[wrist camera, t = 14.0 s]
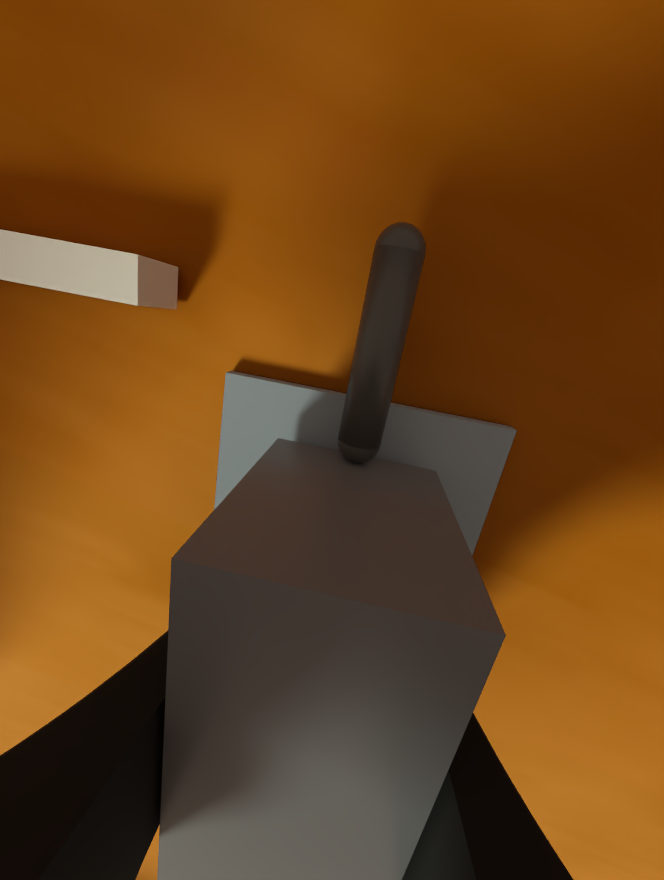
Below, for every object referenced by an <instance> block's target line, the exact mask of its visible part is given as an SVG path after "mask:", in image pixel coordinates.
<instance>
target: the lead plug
mask: <svg viewBox="0 0 664 880" xmlns="http://www.w3.org/2000/svg"><path fill="white" fill-rule="evenodd" d="M425 251H426V246H425V240H424V237H423V235H422V233H421V232H420V231H419V229H418V228H416V227H415V226H414V225H412V224H409V223H405V222H400V223H395V224H392V225H390V226H389V227H387V228H386V229H385V230H384V231H382V233H381V234H380V235H379V237H378V239H377V241H376V244H375V248H374V253H373V258H372V263H371V269H370V274H369V279H368V284H367V289H366V294H365V300H364V305H363V310H362V315H361V320H360V326H359V331H358V336H357V341H356V346H355V352H354V357H353V362H352V367H351V372H350V378H349V383H348V388H347V393H346V398H345V403H344V409H343V414H342V419H341V424H340V429H339V435H338V447H339V450H340V451H338V450H334V449H329V448H324V447H319V446H314V445H310V444H305V443H300V442H295V441H290V440H285V439H281V438H278V439H277V440H276V441H275V442H274V443H273V444H272V445H271V447H270V448H269V449H268V450H267V451H266V452H265V453H264V455H263V456H262V457H261V458H260V459H259V460H258V461H257V462H256V464H255V465H254V466H253V467H252V468H251V469H250V470H249V471H248V473H247V474H246V475H245V476H244V477H243V478H242V479H241V480H240V482H239V483H238V484H237V485H236V486H235V487H234V488H233V489H232V491H231V492H230V493H229V494H228V495H227V496H226V497H225V499H224V500H223V501H222V502H221V503H220V504H219V505H218V506H217V508H216V509H215V510H214V511H213V512H212V513H211V514H210V515H209V517H208V518H207V519H206V520H205V521H204V522H203V523H202V524H201V526H200V527H199V528H198V529H197V530H196V531H195V532H194V533H193V535H192V536H191V537H190V538H189V539H188V540H187V541H186V543H185V544H184V545H183V546H182V547H181V548H180V549H179V550H178V552H177V553H176V554H175V555H174V556H173V557H172V561H171V584H170V606H169V629H168V652H167V674H166V697H165V720H164V742H163V765H162V788H161V810H160V833H159V856H158V878H157V880H402V878H403V876H404V873H405V871H406V869H407V866H408V864H409V862H410V859H411V857H412V854H413V852H414V850H415V847H416V845H417V843H418V840H419V838H420V836H421V833H422V831H423V829H424V826H425V824H426V822H427V819H428V817H429V814H430V812H431V810H432V807H433V805H434V803H435V800H436V798H437V796H438V793H439V791H440V789H441V786H442V784H443V782H444V779H445V777H446V774H447V772H448V770H449V767H450V765H451V763H452V760H453V758H454V756H455V753H456V751H457V749H458V746H459V744H460V742H461V739H462V737H463V734H464V732H465V730H466V727H467V725H468V723H469V720H470V718H471V716H472V713H473V711H474V709H475V706H476V704H477V702H478V699H479V697H480V695H481V692H482V690H483V687H484V685H485V683H486V680H487V678H488V676H489V673H490V671H491V669H492V666H493V664H494V662H495V659H496V657H497V655H498V652H499V650H500V647H501V645H502V643H503V640H504V638H505V636H506V635H505V632H504V630H503V628H502V625H501V623H500V621H499V618H498V616H497V614H496V611H495V609H494V607H493V604H492V602H491V599H490V597H489V595H488V592H487V590H486V588H485V585H484V583H483V581H482V578H481V576H480V574H479V571H478V569H477V567H476V564H475V562H474V559H473V557H472V555H471V552H470V550H469V548H468V545H467V543H466V541H465V538H464V536H463V534H462V531H461V529H460V526H459V524H458V522H457V519H456V517H455V515H454V512H453V510H452V508H451V505H450V503H449V501H448V498H447V496H446V493H445V491H444V489H443V486H442V484H441V482H440V479H439V477H438V475H437V472H436V471H435V470H430V469H425V468H420V467H415V466H411V465H406V464H401V463H396V462H391V461H387V460H382V459H377V458H374V457H375V456H376V455H377V453H378V451H379V449H380V446H381V441H382V437H383V433H384V429H385V424H386V420H387V416H388V412H389V407H390V403H391V399H392V394H393V390H394V386H395V382H396V377H397V373H398V369H399V364H400V360H401V356H402V352H403V347H404V343H405V339H406V335H407V330H408V326H409V322H410V317H411V313H412V309H413V305H414V300H415V296H416V292H417V287H418V283H419V279H420V275H421V270H422V266H423V262H424V258H425Z"/></svg>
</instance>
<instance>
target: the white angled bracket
mask: <svg viewBox="0 0 664 880" xmlns="http://www.w3.org/2000/svg"><path fill="white" fill-rule="evenodd" d="M0 280H5V281H11V282H16V283H21V284H26V285H32V286H37V287H42V288H47V289H53V290H58V291H63V292H68V293H73V294H79V295H84V296H89V297H94V298H100V299H105V300H110V301H115V302H121V303H126V304H131V305H136V306H146V307H156V308H167V309H177V291H178V267H177V266H173V265H170V264H167V263H164V262H161V261H157V260H154V259H151V258H148V257H144V256H141V255H138V254H133V253H127V252H122V251H116V250H111V249H105V248H100V247H94V246H89V245H83V244H78V243H72V242H67V241H61V240H56V239H50V238H45V237H40V236H34V235H29V234H23V233H18V232H12V231H7V230H1V229H0Z"/></svg>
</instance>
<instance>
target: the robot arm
mask: <svg viewBox="0 0 664 880" xmlns="http://www.w3.org/2000/svg"><path fill="white" fill-rule="evenodd" d="M167 652H168V631H167V632H166V633H164V634H163V635H162V636H161V637H160V638H158V639H157V640H156V641H155V642H154V643H153V644H151V645H150V646H149V647H148V648H147V649H145V650H144V651H143V652H142V653H141V654H139V655H138V656H137V657H136V658H135V659H133V660H132V661H131V662H130V663H128V664H127V665H126V666H124V667H123V668H122V669H121V670H119V671H118V672H117V673H115V674H114V675H113V676H112V677H110V678H109V679H108V680H106V681H105V682H104V683H102V684H101V685H100V686H99V687H97V688H96V689H95V690H93V691H92V692H91V693H90V694H88V695H87V696H86V697H84V698H83V699H81V700H80V701H79V702H77V703H76V704H75V705H73V706H72V707H70V708H69V709H68V710H66V711H65V712H64V713H62V714H61V715H59V716H58V717H57V718H55V719H54V720H52V721H51V722H49V723H48V724H47V725H45V726H44V727H42V728H41V729H39V730H38V731H36V732H35V733H33V734H32V735H31V736H29V737H28V738H26V739H25V740H23V741H22V742H20V743H19V744H17V745H16V746H14V747H13V748H11V749H10V750H8V751H7V752H5V753H4V754H2V755H0V880H135V879H136V877H137V874H138V872H139V869H140V867H141V864H142V862H143V860H144V858H145V855H146V853H147V851H148V849H149V846H150V844H151V842H152V840H153V837H154V835H155V833H156V831H157V828H158V826H159V824H160V810H161V788H162V765H163V742H164V720H165V697H166V674H167ZM402 880H573V878H572V877H571V875H570V874H569V872H568V871H567V869H566V868H565V866H564V865H563V863H562V862H561V860H560V859H559V857H558V855H557V854H556V852H555V851H554V849H553V848H552V846H551V844H550V843H549V841H548V840H547V838H546V837H545V835H544V833H543V832H542V830H541V829H540V827H539V825H538V824H537V822H536V821H535V819H534V817H533V816H532V814H531V813H530V811H529V809H528V808H527V806H526V804H525V803H524V801H523V799H522V798H521V796H520V794H519V793H518V791H517V789H516V788H515V786H514V784H513V783H512V781H511V779H510V778H509V776H508V774H507V772H506V771H505V769H504V767H503V765H502V764H501V762H500V760H499V759H498V757H497V755H496V753H495V751H494V750H493V748H492V746H491V744H490V742H489V741H488V739H487V737H486V735H485V733H484V732H483V730H482V728H481V726H480V724H479V723H478V721H477V719H476V717H475V715H474V713H472V716H471V718H470V720H469V723H468V725H467V727H466V730H465V732H464V734H463V737H462V739H461V742H460V744H459V746H458V749H457V751H456V753H455V756H454V758H453V760H452V763H451V765H450V767H449V770H448V772H447V774H446V777H445V779H444V782H443V784H442V786H441V789H440V791H439V793H438V796H437V798H436V800H435V803H434V805H433V807H432V810H431V812H430V814H429V817H428V819H427V822H426V824H425V826H424V829H423V831H422V833H421V836H420V838H419V840H418V843H417V845H416V847H415V850H414V852H413V854H412V857H411V859H410V862H409V864H408V866H407V869H406V871H405V873H404V876H403V878H402Z"/></svg>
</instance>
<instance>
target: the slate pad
mask: <svg viewBox="0 0 664 880" xmlns="http://www.w3.org/2000/svg"><path fill="white" fill-rule="evenodd" d="M345 398H346V393H341V392H336V391H331V390H326V389H321V388H316V387H311V386H306V385H301V384H295V383H290V382H285V381H280V380H275V379H270V378H265V377H260V376H255V375H250V374H245V373H240V372H235V371H229V372H226V377H225V389H224V401H223V412H222V424H221V436H220V448H219V460H218V472H217V484H216V496H215V508H214V510H215V509H216V508H217V506H218V505H219V504H220V503H221V502H222V501H223V500H224V499H225V497H226V496H227V495H228V494H229V493H230V492H231V491H232V489H233V488H234V487H235V486H236V485H237V484H238V483H239V482H240V480H241V479H242V478H243V477H244V476H245V475H246V474H247V473H248V471H249V470H250V469H251V468H252V467H253V466H254V465H255V464H256V462H257V461H258V460H259V459H260V458H261V457H262V456H263V455H264V453H265V452H266V451H267V450H268V449H269V448H270V447H271V445H272V444H273V443H274V442H275V441H276V440H277V439H278V438H281V439H285V440H290V441H295V442H300V443H305V444H310V445H314V446H319V447H324V448H329V449H334V450H338V451H340V450H339V447H338V435H339V429H340V424H341V419H342V414H343V409H344V403H345ZM516 431H517V430H515V429H514V428H513V427H511V426H507V425H502V424H497V423H492V422H487V421H482V420H477V419H472V418H467V417H462V416H457V415H452V414H446V413H441V412H436V411H431V410H426V409H421V408H416V407H411V406H406V405H401V404H396V403H390V407H389V412H388V416H387V420H386V424H385V429H384V433H383V437H382V441H381V446H380V449H379V451H378V453H377V455H376V456H375V457H374V458H377V459H382V460H387V461H391V462H396V463H401V464H406V465H411V466H415V467H420V468H425V469H430V470H435V471H436V472H437V475H438V477H439V479H440V482H441V484H442V486H443V489H444V491H445V493H446V496H447V498H448V501H449V503H450V505H451V508H452V510H453V512H454V515H455V517H456V519H457V522H458V524H459V526H460V529H461V531H462V534H463V536H464V538H465V541H466V543H467V545H468V548H469V550H470V552H471V555H473V552H474V550H475V547H476V544H477V541H478V538H479V535H480V533H481V530H482V527H483V524H484V521H485V519H486V516H487V513H488V510H489V507H490V505H491V502H492V499H493V496H494V493H495V491H496V488H497V485H498V482H499V479H500V476H501V474H502V471H503V468H504V465H505V462H506V460H507V457H508V454H509V451H510V448H511V446H512V443H513V440H514V437H515V434H516Z"/></svg>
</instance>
